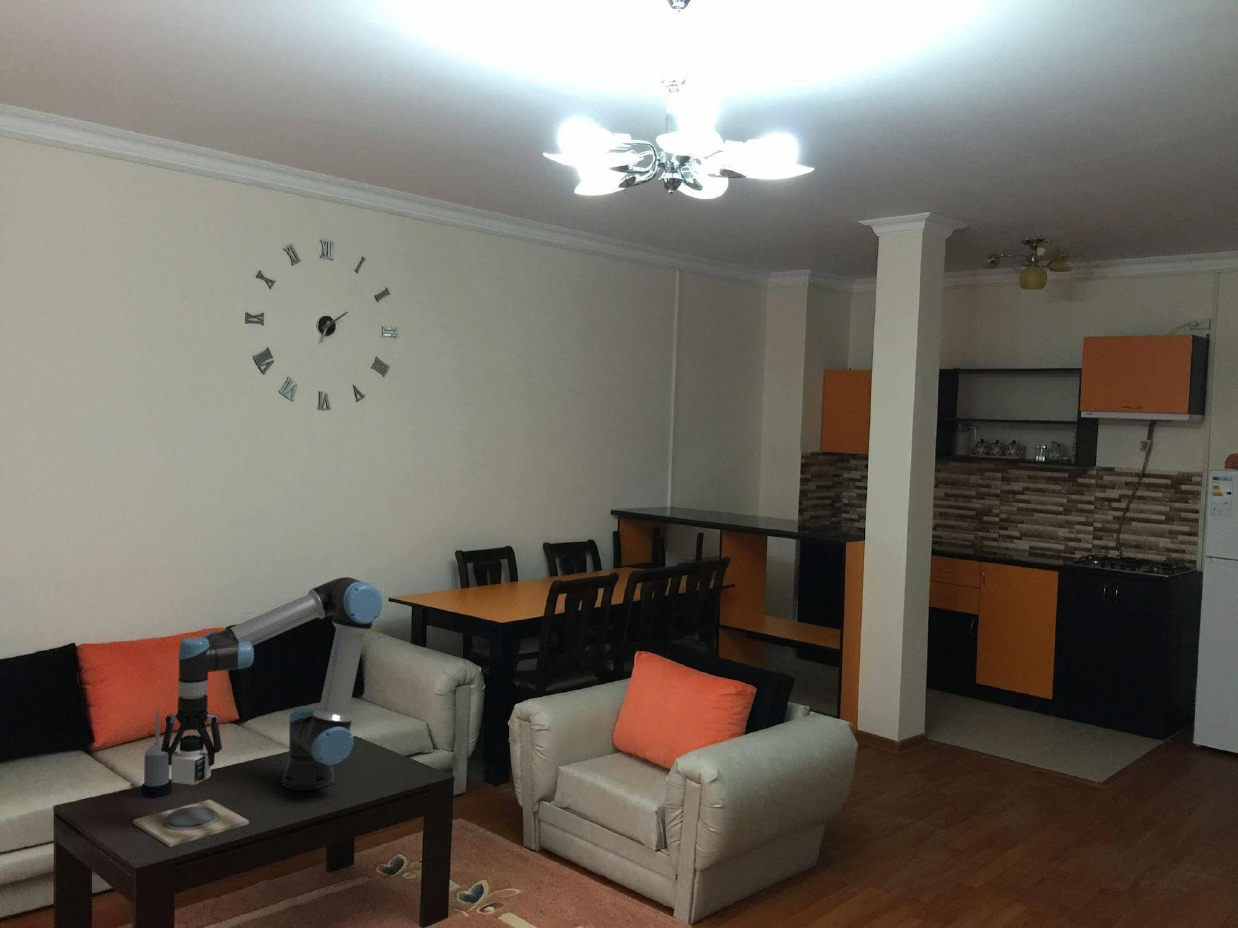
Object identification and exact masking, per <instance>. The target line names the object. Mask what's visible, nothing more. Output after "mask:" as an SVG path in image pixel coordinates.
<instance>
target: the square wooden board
mask: <svg viewBox="0 0 1238 928" xmlns="http://www.w3.org/2000/svg"><path fill="white" fill-rule="evenodd" d="M249 823H250V821H249V819H247V818H245V817H243V816H241V815H239V814H238V813H237V812H234V811H232V810H231V809H229V808H227V807H225V806H223V805H221V804H220V803H218V802H216V801H213V800H212V799H206V800H203V801H198V802H196V803H195V802H194V803H191V804H187V805H185V806H180V807H176V808H173V809H168V810H166V811H165V810H163V811H162V812H158V813H153V814H150V815H146V816H141V817H138V818H135V819H133V822H132V824H134V825H135V826H136V827H138V828H140V829H142V830H143V831H144V832H146V833H147V834H149V835H150V836H153V838H155V839H157V840H159V842H162V843H163V844H164V845H165V846H168V847H169V848H171V847H175V846H177V845H181V844H184V843H188V842H191V841H195V840H199V839H201V838H205V837H209V836H213V835H216V834H220V833H223V832H227V831H229V830H233V829H235V828H240V827H243V826H247V825H249Z"/></svg>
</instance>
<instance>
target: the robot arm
mask: <svg viewBox="0 0 1238 928" xmlns="http://www.w3.org/2000/svg"><path fill="white" fill-rule="evenodd" d="M382 610H383V597H382V595H381V593H380V591H379V590H378V589H377V588H376V587H375V586H374V585H372V584H371V583H369V582H365V581H362V580H358V579H356V578H353V577H348V576H346V577H339V578H335V579H332V580H330V581H327V582H325V583H323V584H320V585H318V586H315V587H313V588H311V589H309V590H308V592H307V594H306V595H303V596H301V597H299V598H295V599H294V600H291V601H290V602H287V603H285V604H282V605H280V606H277V607H275V608H273V609H271V610H269V611H266V612H264V613H261V614H260V615H257V616H255V617H252V618H250V619H247V620H246V621H243V622H241V623H237V624H236V625H234V626H232V627H231V626H230V628H229V627H228V628H227V629H224V630H222V631H220V632H218V631H217V632H216V631H210V632H207V633H205V634H204V635H203V636H202V637H189V638H184V639H183V640H181V641H180V644H179V649H178V658H177V659H178V685H177V686H178V687H177V689H178V690H177V694H178V697H177V712H176V713H175V714H173V713H169V714H168V715H167V716H166V717H165V718H164V719H165V724H166V725H165V729H164V734H163V739H162V743H161V744H162V748H161V751H162V752H167V753H168V764H169V766H172V758H173V757H174V756H176V755H178V754H179V751H177V748H178V746H179V745H180V739H181V738H182V737H184V736H183V735H184V734H185V731H186V730H194V731H197V733H198V735H200V736H201V739H202V741H203V743H204V748H205V749H206V750H205V751H207V752H208V753H207V754H206V755H205V780H208V779H209V778H210V777H211V775H212V774H211V773H212V772H211V771H212V767H213V766H214V765H215V761H216V760H215V756H216V755H215V754H217V753H218V754H219V752H221V751H222V749H223V746H222V739H221V734H220V728H219V727H220V726H219V720H220V716H219V714H215V715H213V714H212V715H211V714H209V712H208V699H209V698H208V697H209V696H208V695H207V694H208V691H209V690H208V688H209V673H210V672H211V673H213V672H215V673H216V672H221V671H231V670H233V671H234V670H241V669H247V668H250V667H251V666H252V665H253V663H254V658H255V652H254V651H255V650H254V647H253V646H255V645H257V644H259V643H261V642H262V643H263V642H264V641H267V640H269V639H270V638H273V637H275V636H278V635H279V634H283V633H285V632H286V631H289V630H291V629H293V628H296V627H298V626H300V625H303V624H304V623H307V622H309V621H312V620H314V619H317V618H319V619H324V618H325V619H326V617H329V616H330V617H331V616H333V617H332V618H333V619H332V625H333V626H334V627H335V633H334V638H333V643H332V647H331V651H330V652H331V653H330V656H329V657H330V658H329V661H328V666H327V671H326V676H325V681H324V685H323V689H322V694H321V697H320V698H321V699H320V703H319V706H309V707H302V708H298V709H295V710H292V711H291V713H290V714H289V721H288V724H289V738H288V739H289V741H288V742H289V744H288V745H289V749H288V751H289V752H288V753H289V754H288V755H289V756H288V761H287V764H286V767H285V770H284V773H283V776H282V785H283V787H284V788H286V789H288V790H292V791H300V792H302V791H303V792H304V791H316V790H319V789H323V788H327V787H329V786H330V785H332V784H333V783H334V781H335V780H334V779H335V777H334V776H335V774H334V770H333V767H332V766H334V765H336V764H339V763H341V762H342V761H344V760H346V758H347V757H348V756H349V755H350V754H351V752H352V751H353V747H354V736H353V733H352V732H351V727H352V721H353V718H352V716H351V715H350V713H349V710H350V706H351V700H352V696H353V693H354V686H355V683H356V682H355V681H356V677H357V673H358V667H359V663H360V659H361V653H362V649H363V645H364V639H365V635H366V634H367V633H368V632H370V631H371V630H372V627H373V622H374V621H375V620H376V619H377V618H378V617H379V616H380V615H381V612H382ZM176 720H177V721H178V723H179V724H180V726H179V727H178V729H177V732H176V734H175V737H174V738H173V740H172V742H171V738H172V736H173V735H172V734H173V730H174V726H175V722H176ZM207 721H208V723H209V724H210V731H211V736H210V735H209V732H208V728H207V725H206V722H207ZM211 737H212V739H211ZM170 772H171V774H170V775H171V779H172V771H170Z"/></svg>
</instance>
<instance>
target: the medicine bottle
mask: <svg viewBox="0 0 1238 928" xmlns="http://www.w3.org/2000/svg"><path fill="white" fill-rule="evenodd" d="M204 748H205V745H204V743H203V741H202V739H201V736H200V734H187V735H185V736H182V738H181V739H180V742H179V753H178V755H176V756H174V757H173V758H172V765H171V772H172V778H171V783H172V784H174V783H175V784H184V785H192V786H196V785H197V784H199V783H201V782H203V781H205V780H206V779H205V755H206V754H207V753H208V752H207V750H204Z"/></svg>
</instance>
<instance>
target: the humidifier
mask: <svg viewBox="0 0 1238 928" xmlns="http://www.w3.org/2000/svg"><path fill="white" fill-rule="evenodd" d="M155 714H156V715H155V716H156V717H155V721H156V722H155V741H154V744H152V745H151V746H149V747H148V748H147V749H146V750H145V752H144V765H143V766H144V768H143V769H144V773H143V774H144V776H143V777H144V778H143V779H144V781H143V783H142V784H141V796H142V797H143V798H145V799H158V798H162V797H163V798H164V797H166V796H168V795H170V794H171V793H172V780H170V765H169V764H168V753H167V752H162V751H161V748H162V743H160V709H156V712H155Z"/></svg>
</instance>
